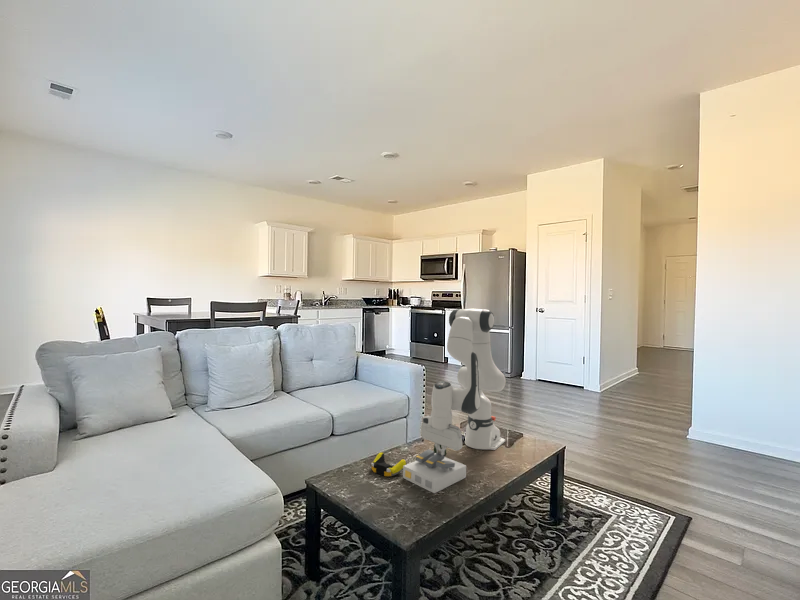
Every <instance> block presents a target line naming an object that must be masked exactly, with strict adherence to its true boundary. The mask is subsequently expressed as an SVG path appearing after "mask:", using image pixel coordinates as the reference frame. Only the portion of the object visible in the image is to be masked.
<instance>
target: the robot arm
mask: <svg viewBox="0 0 800 600" xmlns="http://www.w3.org/2000/svg"><path fill="white" fill-rule="evenodd" d="M448 324H449V327H450V329H449V334H448V338H447V343H446V351H447V352H448V353H449V355H450V357H452V358H453V359H454V360H455V361H458V362H459V363H462V365H464V366H462V367H460V368H459V370H458V372H457V376H456V377H457V382H458V383H459V384H460V386H462V388H461V387H455V386H452V384H451V382H449V381H437V382H435V383H434V384H433V386H432V390H431V391H432V392H431V413H430V415H425V416H423V417H421V424H420V437H421V439H423V440H427V441H429V442H432V443H434V444H435V447H436V450H437V454H439V455H444V454H445V450H446V451H447V448H448V449H450V450H453V451H460V450H461V449H462V448H463V436H462V435H463V433H462V429H461V428H460V427H459V426H456V425H453V413H452V411H457V412H461V413H465V414H467V424H466V427H465V436H464V437H465V441H464V444H465V445H466V446H467V447H469V448H472V449H474V450H475V449H476V450H493V451H495V450H497V449H498V448H499V447H501V445H503V444H504V443H505V442H506V439H505V438H504V437H501V430H500V429H499V428H498V427H497V426H496V425H495V424H494V422H495V421H496V416H493V415H492V402H491V400H490V399H489V398H488V397H487V396H486V395H485V393H484V392H490V393H496V392H497V393H498V392H502V391H503V390H504V388H505V386H506V382H507V381H506V380H507V379H506V376H505V374H504V373H503V372H502V371H501V370H500V368H498V367H497V365H496V364H495V361H494V359H493V356H492V348H491V347H492V346H491V333H490V331H491V330H492V329H493V328H494V326H495V315H494V313H493V312H492V311H491V310H489V309H485V308H483V309H481V308H473V307H472V308H463V309H462V308H457V309H454V310H451V312H450V314H449V317H448ZM440 445H441V448H442V449H440ZM444 456H445V455H444Z"/></svg>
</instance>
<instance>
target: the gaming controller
mask: <svg viewBox="0 0 800 600" xmlns="http://www.w3.org/2000/svg"><path fill="white" fill-rule="evenodd" d="M404 465H407V461H406V460H405V459H404V458H403V459H401V460H400V461H399V462H397V463H396V464H395V465H391V464H389V463H386V460H385V453H384V452H379V453H378V454H377V455H376V456H375V458H374V460H373V461H372V462H371V470H372V471H373V473H376V474H378V475H381V476H384V477H393V476H396V475H398V474H400V473H401V472H403V466H404Z"/></svg>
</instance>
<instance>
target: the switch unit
mask: <svg viewBox="0 0 800 600" xmlns="http://www.w3.org/2000/svg"><path fill="white" fill-rule="evenodd" d="M435 454H436V453H434V455H435ZM429 459H430V458H429ZM429 459H428V460H429ZM426 461H427V460H426ZM426 461H425V462H426ZM442 461H450V462H453V463H455V467H453V468H441V467H438V466H434V467H433V468H431V467H428V466H426V463H425V462H423V463H420V462H418V461H416V460H415V461H412V462H409V463H406V465H404V466H403V470H402V478H403V479H405V480H406V481H408V482H410V483H412V484H415V485H417V486H419V487H420V488H423V489H425V490H426V491H429V492H430V493H432V494H436V493H438V492H440V491H442V490H445V489H446V488H448V487H450V486H451V485H454V484H455V483H458V482H460V481H461V480H463V479H465V478H467V465H466V464H463V463H462V462H460V461H457V460H454V459H451V458H448V457H447V456H444V459H443V460H442Z"/></svg>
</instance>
